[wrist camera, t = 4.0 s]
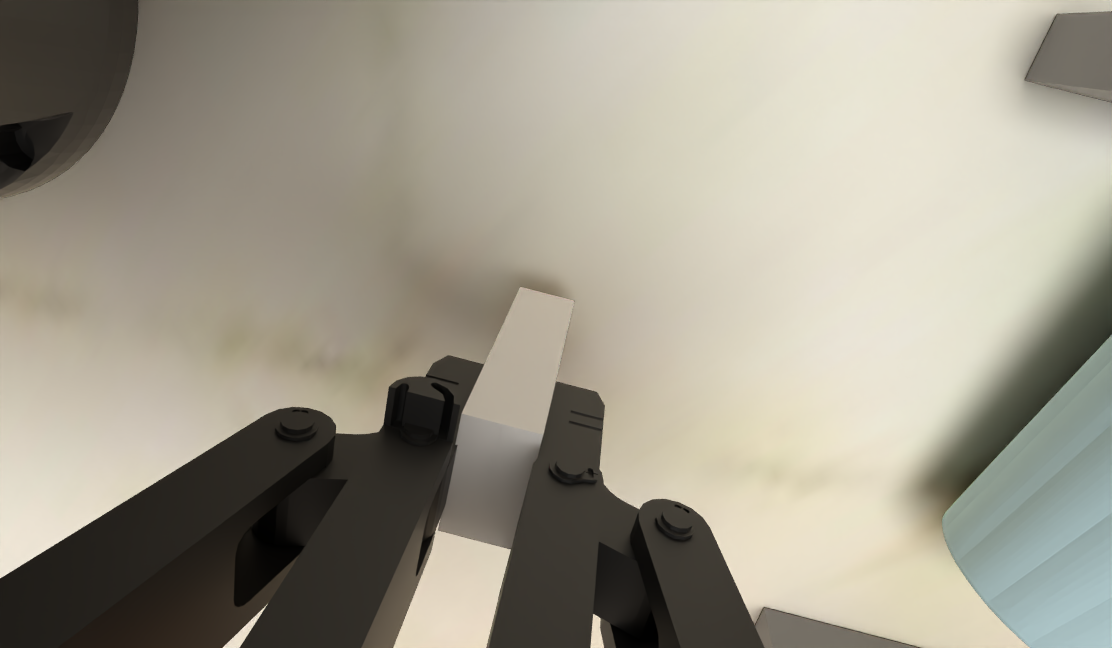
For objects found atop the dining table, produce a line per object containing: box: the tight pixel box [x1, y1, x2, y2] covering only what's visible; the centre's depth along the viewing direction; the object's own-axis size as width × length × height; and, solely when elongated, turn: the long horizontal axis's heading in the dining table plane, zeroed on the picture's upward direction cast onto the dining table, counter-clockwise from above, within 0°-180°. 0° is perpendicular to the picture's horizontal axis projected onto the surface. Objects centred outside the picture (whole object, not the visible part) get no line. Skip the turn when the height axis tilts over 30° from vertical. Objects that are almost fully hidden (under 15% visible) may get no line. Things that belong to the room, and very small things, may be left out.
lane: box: [755, 11, 1112, 648], centre depth 18 cm, size 12×21×4 cm, turn 167°
